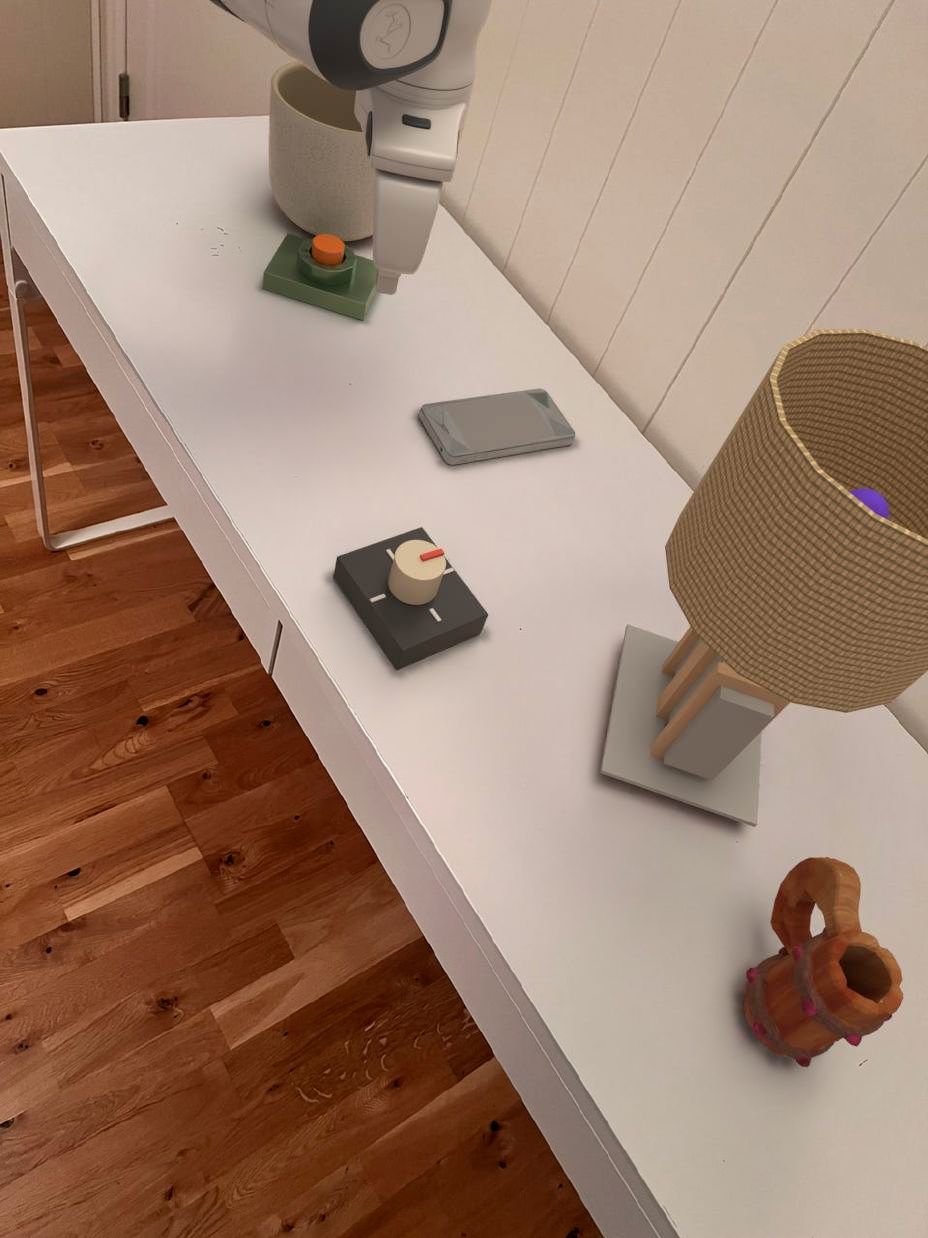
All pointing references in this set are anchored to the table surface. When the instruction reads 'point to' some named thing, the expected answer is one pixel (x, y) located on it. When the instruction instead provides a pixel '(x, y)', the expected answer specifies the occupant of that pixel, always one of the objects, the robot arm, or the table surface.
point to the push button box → (322, 278)
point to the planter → (319, 156)
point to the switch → (328, 249)
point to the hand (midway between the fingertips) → (385, 258)
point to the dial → (416, 572)
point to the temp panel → (400, 624)
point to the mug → (820, 968)
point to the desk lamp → (787, 573)
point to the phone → (495, 426)
